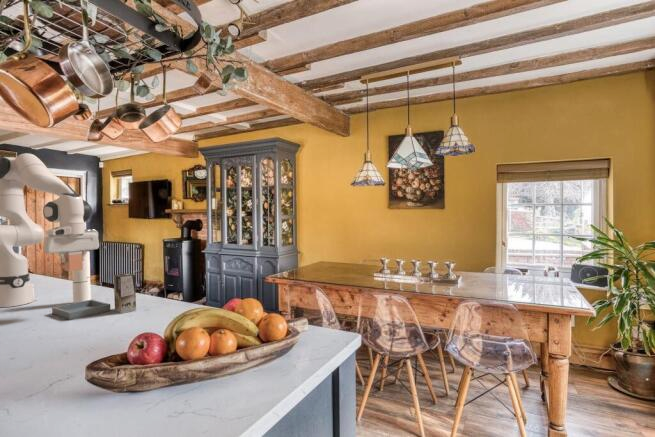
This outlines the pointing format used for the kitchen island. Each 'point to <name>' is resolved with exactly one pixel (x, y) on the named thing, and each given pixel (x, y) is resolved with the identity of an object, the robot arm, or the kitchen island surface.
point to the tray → (80, 309)
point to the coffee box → (125, 292)
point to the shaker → (73, 261)
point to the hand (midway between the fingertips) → (73, 261)
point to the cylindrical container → (82, 281)
